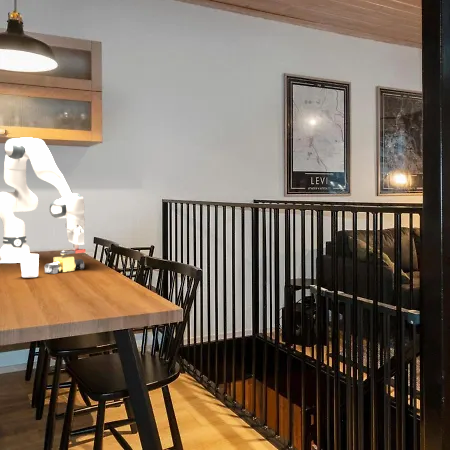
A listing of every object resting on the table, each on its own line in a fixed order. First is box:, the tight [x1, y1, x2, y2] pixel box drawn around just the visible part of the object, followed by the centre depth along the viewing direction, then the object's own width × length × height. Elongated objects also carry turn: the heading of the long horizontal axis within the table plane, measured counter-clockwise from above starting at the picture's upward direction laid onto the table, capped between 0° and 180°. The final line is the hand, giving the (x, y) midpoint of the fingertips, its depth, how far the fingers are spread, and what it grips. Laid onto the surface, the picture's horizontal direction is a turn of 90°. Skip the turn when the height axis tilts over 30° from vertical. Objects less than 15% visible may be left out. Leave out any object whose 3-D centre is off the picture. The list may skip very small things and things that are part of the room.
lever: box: [59, 248, 86, 256], centre depth 235 cm, size 14×3×2 cm, turn 145°
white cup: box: [20, 253, 40, 279], centre depth 215 cm, size 8×8×10 cm
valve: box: [44, 255, 85, 275], centre depth 232 cm, size 20×7×8 cm, turn 148°
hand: (76, 252), depth 241 cm, fingers closed
